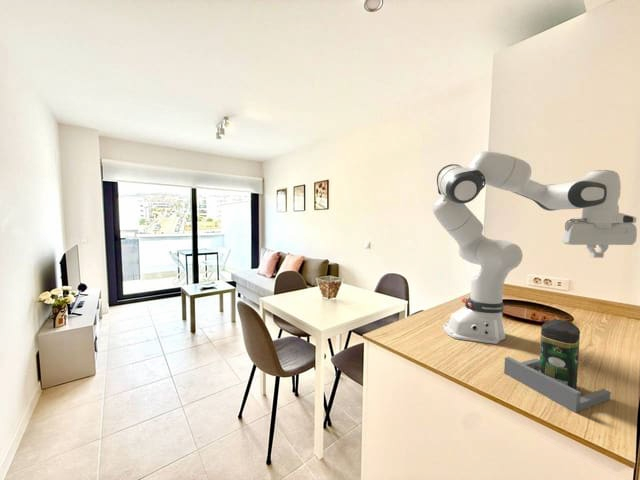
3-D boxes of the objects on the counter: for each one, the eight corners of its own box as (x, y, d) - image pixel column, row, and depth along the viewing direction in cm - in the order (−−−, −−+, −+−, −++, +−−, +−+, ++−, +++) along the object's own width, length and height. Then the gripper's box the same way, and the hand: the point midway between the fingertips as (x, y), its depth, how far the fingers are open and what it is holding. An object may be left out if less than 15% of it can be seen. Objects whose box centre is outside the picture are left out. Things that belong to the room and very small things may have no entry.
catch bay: (535, 364, 87) (536, 349, 87) (610, 399, 70) (611, 381, 70) (504, 373, 83) (504, 357, 82) (575, 412, 66) (577, 393, 65)
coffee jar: (543, 373, 82) (546, 314, 81) (578, 386, 76) (583, 322, 74) (534, 386, 76) (538, 323, 75) (572, 401, 70) (577, 332, 68)
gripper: (572, 218, 92) (569, 258, 93) (642, 217, 89) (639, 259, 90) (559, 218, 98) (557, 255, 100) (624, 217, 95) (621, 256, 96)
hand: (596, 257), depth 95 cm, fingers closed
